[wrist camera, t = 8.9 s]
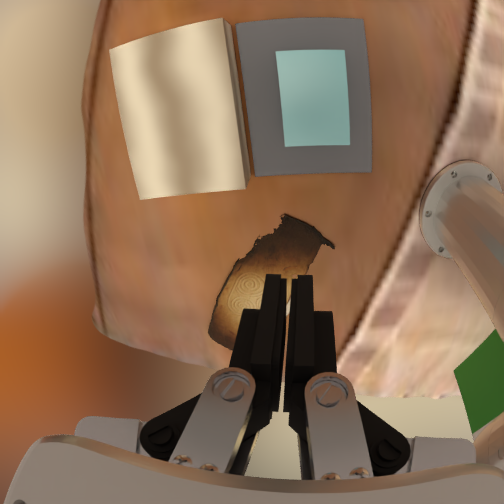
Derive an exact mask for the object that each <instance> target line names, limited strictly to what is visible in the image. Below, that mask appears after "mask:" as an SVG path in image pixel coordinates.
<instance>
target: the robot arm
mask: <svg viewBox="0 0 504 504" xmlns="http://www.w3.org/2000/svg"><path fill="white" fill-rule="evenodd" d="M419 223H420V228H421V232H422V235H423V237H424V239H425V241H426V242H427V244H428V246H429V247H430V248H431V249H432V250H433V251H434V252H435V253H436V254H438V255H440V256H442V257H445V258H450V259H454V261H455V262H456V264H457V265H458V266H459V268H460V269H461V271H462V272H463V274H464V276H465V277H466V279H467V280H468V282H469V283H470V285H471V286H472V288H473V290H474V291H475V293H476V295H477V296H478V298H479V300H480V301H481V303H482V305H483V306H484V308H485V310H486V312H487V313H488V315H489V317H490V319H491V320H492V322H493V324H494V326H495V328H496V330H497V332H498V334H499V336H500V337H501V339H502V341H503V342H504V194H503V192H502V188H501V185H500V183H499V180H498V178H497V177H496V175H495V174H494V173H493V172H492V171H491V170H490V169H489V168H488V167H486V166H484V165H483V164H481V163H478V162H476V161H469V160H465V161H458V162H456V163H453V164H451V165H449V166H447V167H446V168H444V169H443V170H442V171H441V172H440V173H439V174H437V175H436V176H435V178H434V179H433V180H432V182H431V183H430V184H429V186H428V188H427V190H426V192H425V194H424V197H423V200H422V202H421V207H420V218H419ZM286 306H287V278H281V274H266V277H265V283H264V289H263V294H262V300H261V306H260V309H248V308H244V309H243V311H242V315H241V319H240V323H239V327H238V331H237V335H236V340H235V344H234V348H233V352H232V356H231V360H230V364H229V368H224V369H221V370H219V371H217V372H216V373H214V374H213V375H212V376H211V377H210V379H209V380H208V382H207V384H206V386H205V388H204V390H203V392H202V393H201V394H199V395H197V396H196V397H194V398H192V399H190V400H188V401H186V402H184V403H182V404H181V405H179V406H177V407H175V408H173V409H171V410H169V411H167V412H165V413H163V414H161V415H159V416H157V417H155V418H153V419H151V420H150V421H148V422H141V421H140V420H139V419H121V418H108V417H97V416H88V417H86V418H83V419H82V420H81V421H80V422H79V423H78V424H77V427H76V429H75V434H74V435H64V434H63V435H62V434H61V435H50V436H45V437H42V438H40V439H39V440H37V441H36V442H34V443H33V445H32V446H31V447H30V448H29V450H28V451H27V453H26V454H25V456H24V457H23V459H22V461H21V463H20V465H19V467H18V469H17V471H16V473H15V476H14V478H13V480H12V482H11V485H10V487H9V490H8V493H7V496H6V499H5V501H4V504H504V411H503V412H502V413H501V414H500V415H499V416H498V417H497V418H495V419H494V420H493V421H492V422H491V423H490V424H489V425H488V426H487V427H485V428H484V430H483V431H482V432H481V433H480V434H479V435H478V437H477V438H476V439H475V441H474V443H473V444H472V443H471V442H470V441H468V440H466V439H457V438H456V439H455V438H431V437H417V436H416V437H414V438H405V437H404V436H403V435H402V434H401V433H400V432H398V431H397V430H396V429H394V428H393V427H391V426H390V425H389V424H387V423H386V422H385V421H383V420H382V419H381V418H379V417H378V416H377V415H375V414H374V413H373V412H371V411H370V410H369V409H368V408H366V407H365V406H363V405H362V404H361V403H360V402H358V401H357V400H356V397H355V392H354V389H353V386H352V384H351V382H350V381H349V380H348V379H347V378H346V377H344V376H342V375H341V374H338V373H337V366H336V350H335V336H334V323H333V313H332V311H314V303H313V276H312V275H298V279H292V281H291V298H290V314H289V328H288V341H287V354H286V368H285V389H284V409H283V412H289V426H290V427H291V428H292V429H293V430H294V431H295V432H296V433H298V434H297V437H298V447H299V457H300V467H301V468H300V469H301V480H287V479H271V478H270V479H269V478H259V477H249V476H244V475H245V472H246V470H247V467H248V464H249V461H250V458H251V455H252V453H253V450H254V447H255V444H256V441H257V438H258V435H259V431H260V430H261V429H262V428H263V427H265V426H267V425H268V424H269V423H270V419H272V411H275V412H278V409H279V401H280V391H281V381H282V371H283V360H284V349H285V337H286Z"/></svg>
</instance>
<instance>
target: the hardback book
mask: <svg viewBox="0 0 504 504" xmlns="http://www.w3.org/2000/svg"><path fill="white" fill-rule="evenodd" d="M454 374H455V377H456V380H457V383H458V386H459V389H460V392H461V395H462V398H463V401H464V405H465V409H466V412H467V416H468V419H469V423H470V427H471V431H472V436H473V440H474V441H475V439H476V438H477V437H478V435H479V434H480V433H481V432H482V431H483V430H484V428H485V427H487V426H488V425H489V424H490V423H491V422H492V421H493V420H494V419H495V418H497V417H498V416H499V415H500V414H501V413H502V412H503V411H504V342H503V341H502V339H501V337H500V336H499V334H498V332H497V330H496V329H495V330H494V331H493V332H492V333H491V334H490V335H489V336H488V338H487V339H486V340H485V341H484V342H483V343H482V344H481V345H480V346H479V347H478V348H477V349H476V350H475V351H474V352H473V353H472V354H471V355H470V356H469V357H468V358H467V359H466V360H465V361H464V362H462V363H461V364H460V365H459V366H458V367H457V368H456V369H455V370H454Z"/></svg>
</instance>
